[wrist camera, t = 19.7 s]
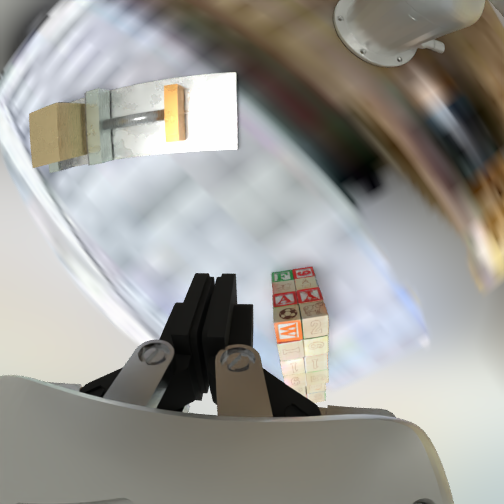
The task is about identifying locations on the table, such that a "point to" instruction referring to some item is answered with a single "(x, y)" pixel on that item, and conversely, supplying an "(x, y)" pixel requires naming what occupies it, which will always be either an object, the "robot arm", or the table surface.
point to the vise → (153, 133)
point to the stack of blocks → (301, 331)
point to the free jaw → (129, 120)
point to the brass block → (57, 133)
